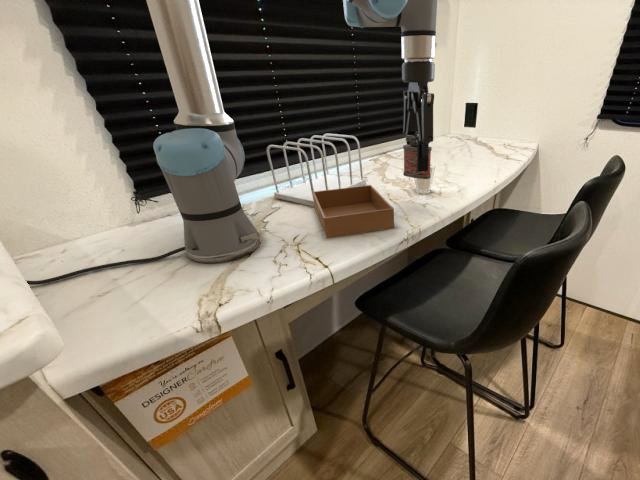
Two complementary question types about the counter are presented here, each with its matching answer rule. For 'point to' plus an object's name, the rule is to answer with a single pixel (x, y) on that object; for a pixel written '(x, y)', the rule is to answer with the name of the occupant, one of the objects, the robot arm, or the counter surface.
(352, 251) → the counter surface
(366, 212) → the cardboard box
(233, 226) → the robot arm
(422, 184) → the cup
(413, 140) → the lighter
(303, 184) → the file sorter
